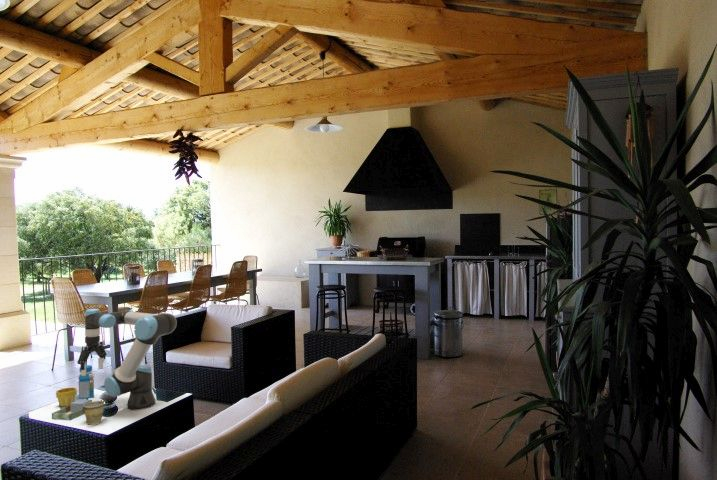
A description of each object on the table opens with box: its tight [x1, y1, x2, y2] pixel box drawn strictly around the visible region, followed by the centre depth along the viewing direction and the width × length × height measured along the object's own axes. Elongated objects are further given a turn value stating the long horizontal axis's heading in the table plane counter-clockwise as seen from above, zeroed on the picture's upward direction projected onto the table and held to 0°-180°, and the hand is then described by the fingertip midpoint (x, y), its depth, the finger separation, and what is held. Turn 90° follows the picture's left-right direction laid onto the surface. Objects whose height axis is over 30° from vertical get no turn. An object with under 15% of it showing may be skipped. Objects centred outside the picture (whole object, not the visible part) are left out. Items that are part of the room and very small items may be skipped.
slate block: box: [70, 398, 93, 412], centre depth 272 cm, size 8×7×5 cm
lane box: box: [51, 398, 103, 421], centre depth 270 cm, size 12×25×4 cm, turn 168°
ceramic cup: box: [83, 400, 107, 426], centre depth 257 cm, size 13×10×10 cm
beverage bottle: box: [77, 364, 95, 400], centre depth 296 cm, size 8×8×20 cm
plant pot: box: [55, 387, 78, 408], centre depth 283 cm, size 10×10×10 cm
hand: (92, 372), depth 280 cm, fingers open, 13 cm apart
